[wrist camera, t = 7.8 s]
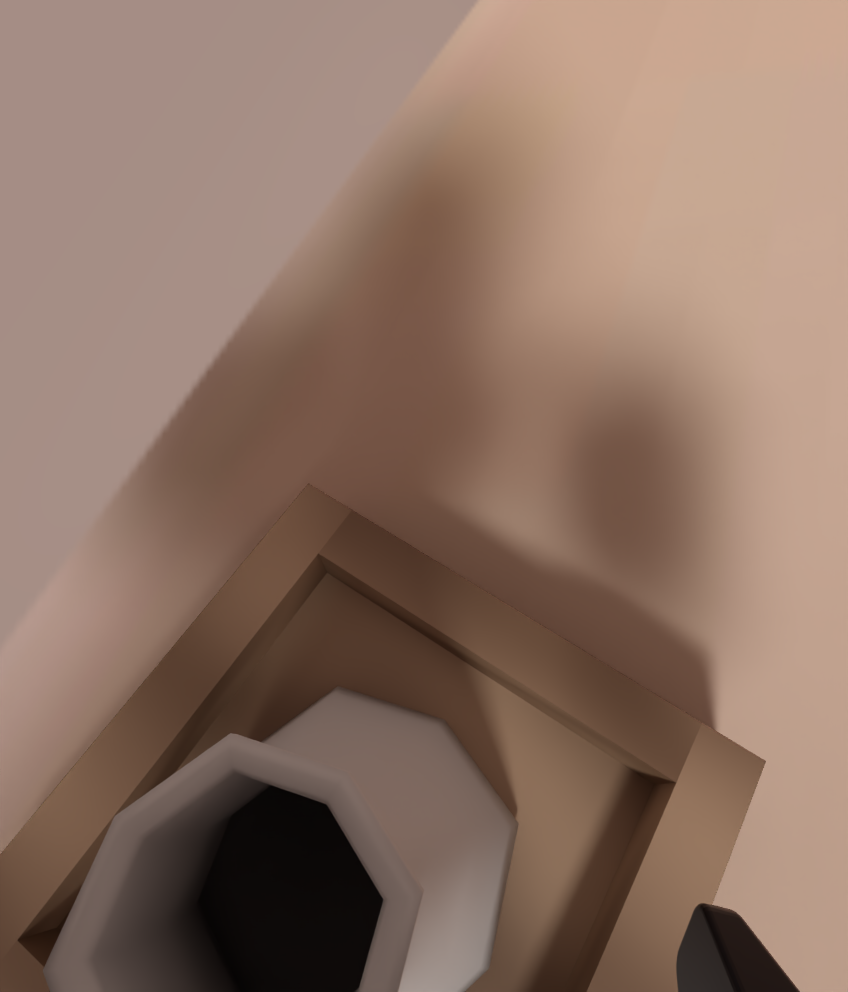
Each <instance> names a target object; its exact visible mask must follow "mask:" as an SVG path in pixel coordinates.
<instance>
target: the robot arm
mask: <svg viewBox="0 0 848 992" xmlns="http://www.w3.org/2000/svg"><path fill="white" fill-rule="evenodd" d="M676 974H677V985H678V992H800V991H799V990H798V989H797V987H796V986H795V985H794V984H793V982H792V981H791V980H790V978H789V977H788V976H787V975H786V973H785V972H784V971H783V969H782V968H781V967H780V966H779V964H778V963H777V962H776V961H775V959H774V958H773V957H772V955H771V954H770V953H769V952H768V950H767V949H766V948H765V946H764V945H763V944H762V943H761V941H760V940H759V939H758V938H757V936H756V935H755V934H754V932H753V931H752V930H751V929H750V927H749V926H748V925H747V923H746V922H745V921H744V920H743V919H742V917H741V916H740V915H738V914H737V913H736V912H735V911H733V910H730V909H726V908H722V907H718V906H714V905H710V904H706V903H700V904H698V905H697V906H696V907H695V909H694V911H693V913H692V916H691V919H690V921H689V924H688V926H687V929H686V931H685V934H684V937H683V939H682V942H681V944H680V947H679V950H678V954H677V962H676Z"/></svg>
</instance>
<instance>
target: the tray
mask: <svg viewBox="0 0 848 992" xmlns="http://www.w3.org/2000/svg"><path fill="white" fill-rule="evenodd" d="M337 686H339V687H342V688H345V689H348V690H352V691H355V692H358V693H361V694H364V695H368V696H371V697H374V698H377V699H380V700H383V701H387V702H390V703H393V704H396V705H399V706H403V707H406V708H409V709H412V710H415V711H418V712H422V713H425V714H428V715H431V716H434V717H438V718H441V719H444V720H445V721H446V722H447V724H448V725H449V727H450V728H451V729H452V731H453V732H454V734H455V735H456V736H457V738H458V739H459V741H460V742H461V743H462V745H463V746H464V748H465V749H466V750H467V752H468V753H469V755H470V756H471V757H472V759H473V760H474V762H475V763H476V764H477V766H478V767H479V769H480V770H481V771H482V773H483V774H484V776H485V777H486V778H487V780H488V781H489V783H490V784H491V785H492V787H493V788H494V790H495V791H496V792H497V794H498V795H499V797H500V798H501V799H502V801H503V802H504V804H505V805H506V806H507V808H508V809H509V811H510V812H511V813H512V815H513V816H514V818H515V819H516V820H517V822H518V823H519V825H518V830H517V835H516V840H515V844H514V849H513V854H512V859H511V864H510V869H509V874H508V879H507V883H506V888H505V893H504V898H503V903H502V908H501V913H500V918H499V923H498V927H497V932H496V937H495V942H494V947H493V952H492V957H491V962H490V966H489V969H488V970H487V971H486V972H485V973H484V974H483V975H482V976H481V977H480V978H479V979H478V980H476V981H475V982H474V983H473V984H472V985H471V986H470V987H469V988H468V989H467V990H466V991H465V992H678V985H677V974H676V962H677V954H678V950H679V947H680V944H681V942H682V939H683V937H684V934H685V931H686V929H687V926H688V924H689V921H690V919H691V916H692V913H693V911H694V909H695V907H696V906H697V905H698V904H700V903H706V904H710V905H712V903H713V901H714V898H715V895H716V893H717V890H718V887H719V885H720V882H721V879H722V877H723V874H724V871H725V869H726V866H727V863H728V861H729V858H730V855H731V853H732V850H733V847H734V845H735V842H736V839H737V837H738V834H739V831H740V829H741V826H742V823H743V821H744V818H745V815H746V813H747V810H748V807H749V805H750V802H751V799H752V797H753V794H754V791H755V789H756V786H757V784H758V781H759V778H760V776H761V773H762V770H763V768H764V765H765V762H766V761H765V760H763V759H761V758H760V757H758V756H756V755H755V754H753V753H751V752H750V751H748V750H747V749H745V748H743V747H742V746H740V745H738V744H737V743H735V742H733V741H732V740H730V739H728V738H727V737H725V736H723V735H722V734H720V733H719V732H717V731H715V730H714V729H712V728H710V727H709V726H707V725H705V724H704V723H702V722H700V721H699V720H697V719H695V718H694V717H692V716H691V715H689V714H687V713H686V712H684V711H682V710H681V709H679V708H677V707H676V706H674V705H672V704H671V703H669V702H667V701H666V700H664V699H663V698H661V697H659V696H658V695H656V694H654V693H653V692H651V691H649V690H648V689H646V688H644V687H643V686H641V685H639V684H638V683H636V682H635V681H633V680H631V679H630V678H628V677H626V676H625V675H623V674H621V673H620V672H618V671H616V670H615V669H613V668H611V667H610V666H608V665H607V664H605V663H603V662H602V661H600V660H598V659H597V658H595V657H593V656H592V655H590V654H588V653H587V652H585V651H583V650H582V649H580V648H579V647H577V646H575V645H574V644H572V643H570V642H569V641H567V640H565V639H564V638H562V637H560V636H559V635H557V634H556V633H554V632H552V631H551V630H549V629H547V628H546V627H544V626H542V625H541V624H539V623H537V622H536V621H534V620H532V619H531V618H529V617H528V616H526V615H524V614H523V613H521V612H519V611H518V610H516V609H514V608H513V607H511V606H509V605H508V604H506V603H504V602H503V601H501V600H500V599H498V598H496V597H495V596H493V595H491V594H490V593H488V592H486V591H485V590H483V589H481V588H480V587H478V586H476V585H475V584H473V583H472V582H470V581H468V580H467V579H465V578H463V577H462V576H460V575H458V574H457V573H455V572H453V571H452V570H450V569H448V568H447V567H445V566H444V565H442V564H440V563H439V562H437V561H435V560H434V559H432V558H430V557H429V556H427V555H425V554H424V553H422V552H420V551H419V550H417V549H416V548H414V547H412V546H411V545H409V544H407V543H406V542H404V541H402V540H401V539H399V538H397V537H396V536H394V535H392V534H391V533H389V532H388V531H386V530H384V529H383V528H381V527H379V526H378V525H376V524H374V523H373V522H371V521H369V520H368V519H366V518H364V517H363V516H361V515H360V514H358V513H356V512H355V511H353V510H351V509H350V508H348V507H346V506H345V505H343V504H341V503H340V502H338V501H337V500H335V499H333V498H332V497H330V496H328V495H327V494H325V493H323V492H322V491H320V490H318V489H317V488H315V487H313V486H312V485H310V484H308V485H307V486H306V487H305V488H304V490H303V491H302V492H301V493H300V494H299V496H298V497H297V498H296V499H295V500H294V502H293V503H292V504H291V505H290V506H289V508H288V509H287V510H286V511H285V512H284V514H283V515H282V516H281V517H280V518H279V520H278V521H277V522H276V523H275V524H274V526H273V527H272V528H271V529H270V531H269V532H268V533H267V534H266V535H265V537H264V538H263V539H262V540H261V541H260V543H259V544H258V545H257V546H256V547H255V549H254V550H253V551H252V552H251V553H250V555H249V556H248V557H247V558H246V559H245V561H244V562H243V563H242V564H241V565H240V567H239V568H238V569H237V570H236V571H235V573H234V574H233V575H232V576H231V577H230V579H229V580H228V581H227V582H226V583H225V585H224V586H223V587H222V588H221V590H220V591H219V592H218V593H217V594H216V596H215V597H214V598H213V599H212V600H211V602H210V603H209V604H208V605H207V606H206V608H205V609H204V610H203V611H202V612H201V614H200V615H199V616H198V617H197V618H196V620H195V621H194V622H193V623H192V624H191V626H190V627H189V628H188V629H187V630H186V632H185V633H184V634H183V635H182V636H181V638H180V639H179V640H178V641H177V642H176V644H175V645H174V646H173V647H172V649H171V650H170V651H169V652H168V653H167V655H166V656H165V657H164V658H163V659H162V661H161V662H160V663H159V664H158V665H157V667H156V668H155V669H154V670H153V671H152V673H151V674H150V675H149V676H148V677H147V679H146V680H145V681H144V682H143V683H142V685H141V686H140V687H139V688H138V689H137V691H136V692H135V693H134V694H133V695H132V697H131V698H130V699H129V700H128V701H127V703H126V704H125V705H124V706H123V707H122V709H121V710H120V711H119V712H118V714H117V715H116V716H115V717H114V718H113V720H112V721H111V722H110V723H109V724H108V726H107V727H106V728H105V729H104V730H103V732H102V733H101V734H100V735H99V736H98V738H97V739H96V740H95V741H94V742H93V744H92V745H91V746H90V747H89V748H88V750H87V751H86V752H85V753H84V754H83V756H82V757H81V758H80V759H79V760H78V762H77V763H76V764H75V765H74V766H73V768H72V769H71V770H70V771H69V773H68V774H67V775H66V776H65V777H64V779H63V780H62V781H61V782H60V783H59V785H58V786H57V787H56V788H55V789H54V791H53V792H52V793H51V794H50V795H49V797H48V798H47V799H46V800H45V801H44V803H43V804H42V805H41V806H40V807H39V809H38V810H37V811H36V812H35V813H34V815H33V816H32V817H31V818H30V819H29V821H28V822H27V823H26V824H25V825H24V827H23V828H22V829H21V830H20V832H19V833H18V834H17V835H16V836H15V838H14V839H13V840H12V841H11V842H10V844H9V845H8V846H7V847H6V848H5V850H4V851H3V852H2V853H1V854H0V992H50V990H49V987H48V984H47V982H46V979H45V976H44V973H43V969H44V967H45V965H46V962H47V960H48V958H49V956H50V954H51V952H52V950H53V947H54V945H55V943H56V941H57V939H58V937H59V935H60V932H61V930H62V928H63V926H64V924H65V922H66V920H67V917H68V915H69V913H70V911H71V909H72V907H73V904H74V902H75V900H76V898H77V896H78V894H79V892H80V889H81V887H82V885H83V883H84V881H85V879H86V877H87V874H88V872H89V870H90V868H91V866H92V864H93V862H94V859H95V857H96V855H97V853H98V851H99V849H100V847H101V844H102V842H103V840H104V838H105V836H106V834H107V832H108V829H109V827H110V825H111V823H112V821H113V819H114V816H115V815H117V814H118V813H120V812H121V811H122V810H124V809H125V808H127V807H128V806H129V805H131V804H132V803H134V802H135V801H136V800H138V799H139V798H141V797H142V796H143V795H145V794H146V793H148V792H149V791H150V790H152V789H153V788H155V787H156V786H157V785H159V784H160V783H162V782H163V781H164V780H166V779H167V778H169V777H170V776H171V775H173V774H174V773H176V772H177V771H178V770H180V769H181V768H183V767H184V766H185V765H187V764H188V763H190V762H191V761H192V760H194V759H195V758H197V757H198V756H199V755H201V754H202V753H204V752H205V751H206V750H208V749H209V748H211V747H212V746H213V745H215V744H216V743H218V742H219V741H220V740H222V739H223V738H224V737H226V736H227V735H229V734H230V733H232V734H238V735H241V736H244V737H247V738H250V739H253V740H256V741H259V742H262V741H263V740H264V739H266V738H267V737H269V736H270V735H271V734H273V733H274V732H275V731H277V730H278V729H280V728H281V727H282V726H284V725H285V724H286V723H288V722H289V721H291V720H292V719H293V718H295V717H296V716H297V715H299V714H300V713H301V712H303V711H304V710H306V709H307V708H308V707H310V706H311V705H312V704H314V703H315V702H317V701H318V700H319V699H321V698H322V697H323V696H325V695H326V694H328V693H329V692H330V691H332V690H333V689H334V688H336V687H337Z"/></svg>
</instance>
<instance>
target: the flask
mask: <svg viewBox="0 0 848 992" xmlns="http://www.w3.org/2000/svg"><path fill="white" fill-rule="evenodd" d="M518 825H519V823H518V822H517V820H516V819H515V818H514V816H513V815H512V813H511V812H510V811H509V809H508V808H507V806H506V805H505V804H504V802H503V801H502V799H501V798H500V797H499V795H498V794H497V792H496V791H495V790H494V788H493V787H492V785H491V784H490V783H489V781H488V780H487V778H486V777H485V776H484V774H483V773H482V771H481V770H480V769H479V767H478V766H477V764H476V763H475V762H474V760H473V759H472V757H471V756H470V755H469V753H468V752H467V750H466V749H465V748H464V746H463V745H462V743H461V742H460V741H459V739H458V738H457V736H456V735H455V734H454V732H453V731H452V729H451V728H450V727H449V725H448V724H447V722H446V721H445V720H444V719H441V718H438V717H434V716H431V715H428V714H425V713H422V712H418V711H415V710H412V709H409V708H406V707H403V706H399V705H396V704H393V703H390V702H387V701H383V700H380V699H377V698H374V697H371V696H368V695H364V694H361V693H358V692H355V691H352V690H348V689H345V688H342V687H339V686H337V687H336V688H334V689H333V690H332V691H330V692H329V693H328V694H326V695H325V696H323V697H322V698H321V699H319V700H318V701H317V702H315V703H314V704H312V705H311V706H310V707H308V708H307V709H306V710H304V711H303V712H301V713H300V714H299V715H297V716H296V717H295V718H293V719H292V720H291V721H289V722H288V723H286V724H285V725H284V726H282V727H281V728H280V729H278V730H277V731H275V732H274V733H273V734H271V735H270V736H269V737H267V738H266V739H264V740H263V741H262V742H259V741H256V740H253V739H250V738H247V737H244V736H241V735H238V734H232V733H230V734H229V735H227V736H226V737H224V738H223V739H222V740H220V741H219V742H218V743H216V744H215V745H213V746H212V747H211V748H209V749H208V750H206V751H205V752H204V753H202V754H201V755H199V756H198V757H197V758H195V759H194V760H192V761H191V762H190V763H188V764H187V765H185V766H184V767H183V768H181V769H180V770H178V771H177V772H176V773H174V774H173V775H171V776H170V777H169V778H167V779H166V780H164V781H163V782H162V783H160V784H159V785H157V786H156V787H155V788H153V789H152V790H150V791H149V792H148V793H146V794H145V795H143V796H142V797H141V798H139V799H138V800H136V801H135V802H134V803H132V804H131V805H129V806H128V807H127V808H125V809H124V810H122V811H121V812H120V813H118V814H117V815H115V816H114V819H113V821H112V823H111V825H110V827H109V829H108V832H107V834H106V836H105V838H104V840H103V842H102V844H101V847H100V849H99V851H98V853H97V855H96V857H95V859H94V862H93V864H92V866H91V868H90V870H89V872H88V874H87V877H86V879H85V881H84V883H83V885H82V887H81V889H80V892H79V894H78V896H77V898H76V900H75V902H74V904H73V907H72V909H71V911H70V913H69V915H68V917H67V920H66V922H65V924H64V926H63V928H62V930H61V932H60V935H59V937H58V939H57V941H56V943H55V945H54V947H53V950H52V952H51V954H50V956H49V958H48V960H47V962H46V965H45V967H44V969H43V973H44V976H45V979H46V982H47V984H48V987H49V990H50V992H465V991H466V990H467V989H468V988H469V987H470V986H471V985H472V984H473V983H474V982H475V981H476V980H478V979H479V978H480V977H481V976H482V975H483V974H484V973H485V972H486V971H487V970H488V969H489V966H490V962H491V957H492V952H493V947H494V942H495V937H496V932H497V927H498V923H499V918H500V913H501V908H502V903H503V898H504V893H505V888H506V883H507V879H508V874H509V869H510V864H511V859H512V854H513V849H514V844H515V840H516V835H517V830H518Z"/></svg>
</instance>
